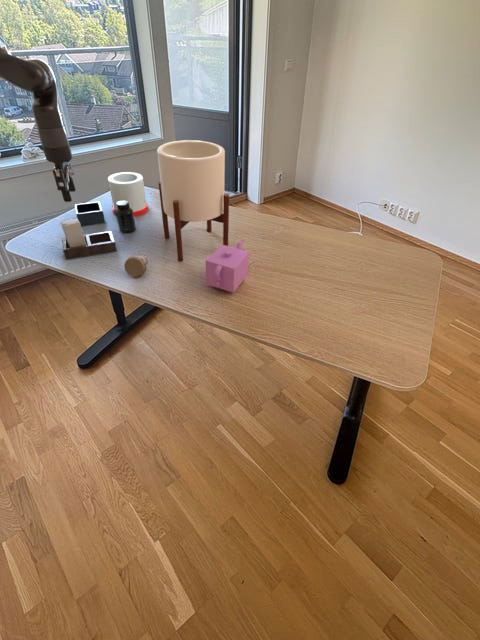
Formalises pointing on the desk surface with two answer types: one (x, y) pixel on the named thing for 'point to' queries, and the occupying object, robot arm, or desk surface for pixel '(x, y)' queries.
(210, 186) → the planter
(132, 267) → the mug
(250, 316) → the desk surface
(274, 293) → the desk surface
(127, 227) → the supplement bottle
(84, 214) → the dark grey open box
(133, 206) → the container
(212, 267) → the teapot
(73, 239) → the cosmetic box
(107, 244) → the box
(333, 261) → the desk surface
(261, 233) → the desk surface
